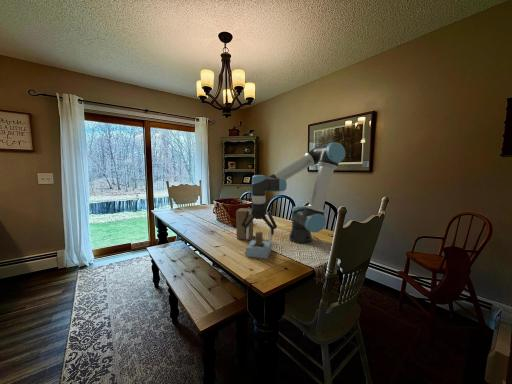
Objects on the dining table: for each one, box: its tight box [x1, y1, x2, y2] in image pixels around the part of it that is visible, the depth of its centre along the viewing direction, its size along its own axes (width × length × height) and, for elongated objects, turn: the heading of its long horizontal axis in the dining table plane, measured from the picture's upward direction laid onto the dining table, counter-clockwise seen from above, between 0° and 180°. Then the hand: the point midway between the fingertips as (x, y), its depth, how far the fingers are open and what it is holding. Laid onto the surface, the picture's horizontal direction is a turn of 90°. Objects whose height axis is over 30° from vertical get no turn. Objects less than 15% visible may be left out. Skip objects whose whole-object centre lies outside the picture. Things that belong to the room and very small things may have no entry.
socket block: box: [245, 239, 272, 259], centre depth 118 cm, size 12×12×5 cm
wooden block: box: [235, 207, 254, 241], centre depth 143 cm, size 10×10×20 cm
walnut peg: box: [255, 231, 264, 247], centre depth 118 cm, size 4×4×12 cm
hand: (259, 239), depth 117 cm, fingers open, 13 cm apart
